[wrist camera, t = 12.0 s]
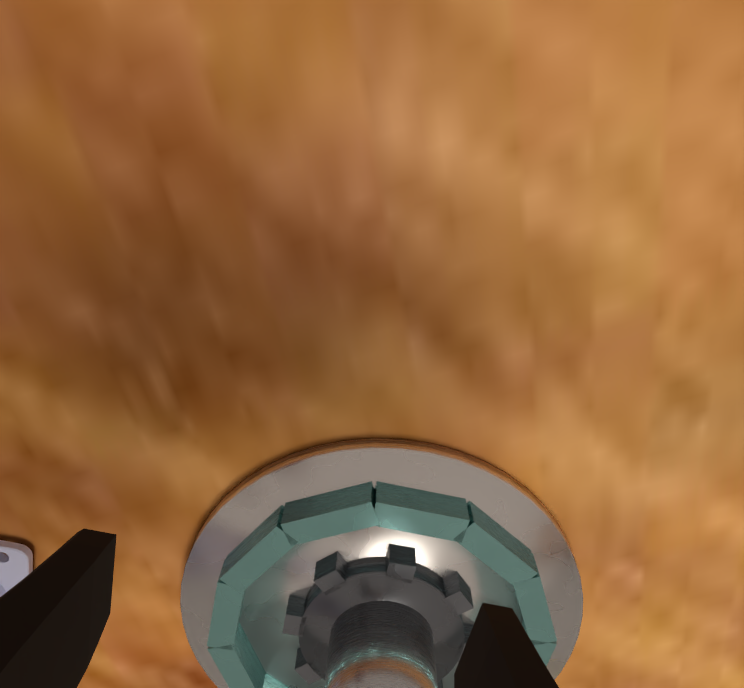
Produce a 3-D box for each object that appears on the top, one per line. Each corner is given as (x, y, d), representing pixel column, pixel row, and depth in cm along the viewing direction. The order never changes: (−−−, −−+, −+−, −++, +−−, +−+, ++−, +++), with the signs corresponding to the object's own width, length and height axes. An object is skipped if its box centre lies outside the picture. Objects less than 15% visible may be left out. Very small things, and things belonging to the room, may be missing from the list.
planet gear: (274, 670, 27) (248, 811, 22) (302, 528, 24) (280, 653, 19) (450, 697, 27) (465, 841, 22) (499, 562, 24) (530, 693, 19)
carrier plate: (168, 702, 29) (154, 745, 27) (211, 398, 22) (195, 428, 21) (507, 759, 30) (516, 804, 28) (639, 485, 24) (660, 520, 22)
